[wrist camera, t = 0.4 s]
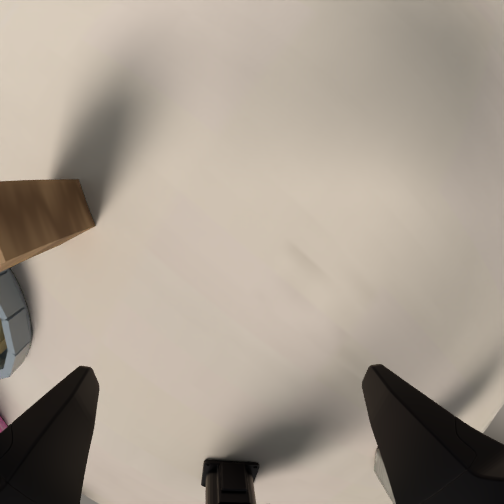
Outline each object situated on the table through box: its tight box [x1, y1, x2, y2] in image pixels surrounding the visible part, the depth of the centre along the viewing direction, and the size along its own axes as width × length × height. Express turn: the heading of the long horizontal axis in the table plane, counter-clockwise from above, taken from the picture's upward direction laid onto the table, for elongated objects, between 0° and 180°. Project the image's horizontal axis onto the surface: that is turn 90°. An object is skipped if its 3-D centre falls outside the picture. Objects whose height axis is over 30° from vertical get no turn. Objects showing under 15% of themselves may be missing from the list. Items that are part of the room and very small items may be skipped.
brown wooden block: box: [0, 179, 95, 272], centre depth 14 cm, size 4×4×11 cm
